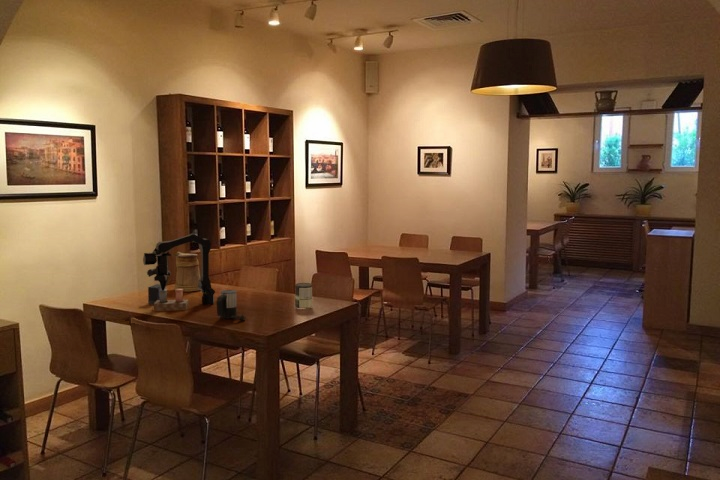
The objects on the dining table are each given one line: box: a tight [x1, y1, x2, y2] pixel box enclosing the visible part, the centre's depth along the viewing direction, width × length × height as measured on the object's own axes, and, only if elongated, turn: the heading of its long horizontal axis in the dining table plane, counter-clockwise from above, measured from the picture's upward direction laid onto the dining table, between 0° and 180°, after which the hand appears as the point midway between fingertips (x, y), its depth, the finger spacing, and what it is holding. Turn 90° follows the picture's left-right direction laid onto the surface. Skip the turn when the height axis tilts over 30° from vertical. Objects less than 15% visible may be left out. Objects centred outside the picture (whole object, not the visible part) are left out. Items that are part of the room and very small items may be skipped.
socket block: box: [153, 299, 190, 312], centre depth 343 cm, size 18×10×4 cm, turn 99°
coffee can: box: [294, 282, 313, 309], centre depth 349 cm, size 10×10×14 cm
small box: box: [147, 283, 167, 305], centre depth 358 cm, size 11×6×10 cm, turn 168°
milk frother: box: [215, 289, 246, 321], centre depth 321 cm, size 14×16×15 cm
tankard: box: [174, 251, 201, 293], centre depth 398 cm, size 18×24×25 cm
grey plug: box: [159, 288, 168, 303], centre depth 342 cm, size 5×5×8 cm
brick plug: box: [174, 288, 184, 303], centre depth 343 cm, size 5×5×8 cm
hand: (163, 290), depth 341 cm, fingers closed, pressing on grey plug
